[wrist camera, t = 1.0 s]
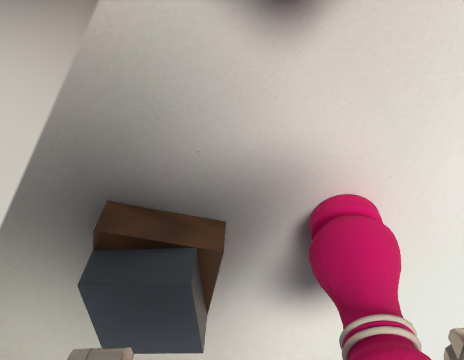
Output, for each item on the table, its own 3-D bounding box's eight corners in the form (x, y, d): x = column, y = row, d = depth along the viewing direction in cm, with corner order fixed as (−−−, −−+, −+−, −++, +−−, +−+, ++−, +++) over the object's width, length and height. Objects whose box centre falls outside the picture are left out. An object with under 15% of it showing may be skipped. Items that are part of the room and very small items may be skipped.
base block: (103, 282, 44) (92, 313, 41) (106, 200, 38) (93, 229, 35) (206, 298, 45) (203, 330, 42) (226, 221, 39) (223, 252, 36)
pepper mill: (401, 211, 38) (520, 460, 21) (349, 260, 41) (416, 506, 25) (337, 175, 36) (411, 418, 19) (288, 230, 39) (315, 474, 23)
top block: (116, 317, 41) (104, 354, 38) (92, 249, 36) (76, 285, 33) (207, 316, 41) (203, 353, 37) (196, 247, 36) (191, 283, 32)
